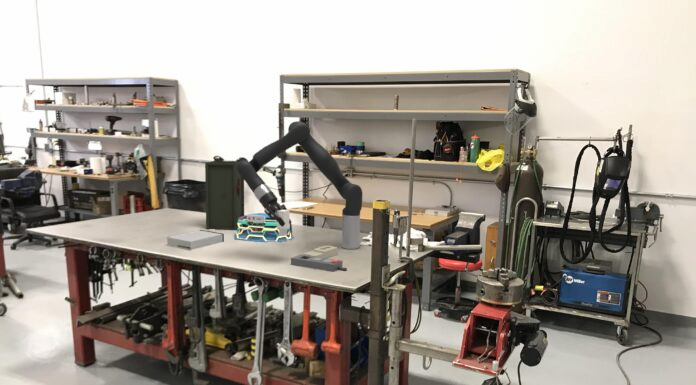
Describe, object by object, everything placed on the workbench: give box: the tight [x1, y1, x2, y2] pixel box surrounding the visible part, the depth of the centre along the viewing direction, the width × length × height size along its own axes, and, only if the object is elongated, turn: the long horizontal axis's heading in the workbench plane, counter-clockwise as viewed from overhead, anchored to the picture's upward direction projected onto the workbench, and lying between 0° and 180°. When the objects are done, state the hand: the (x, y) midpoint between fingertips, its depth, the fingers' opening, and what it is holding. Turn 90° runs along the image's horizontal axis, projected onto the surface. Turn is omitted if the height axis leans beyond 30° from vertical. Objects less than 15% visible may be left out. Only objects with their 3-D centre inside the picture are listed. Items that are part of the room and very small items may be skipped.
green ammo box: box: [204, 160, 245, 231], centre depth 303 cm, size 18×18×40 cm
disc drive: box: [166, 229, 225, 251], centre depth 259 cm, size 18×22×5 cm
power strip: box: [290, 253, 348, 273], centre depth 220 cm, size 8×26×4 cm, turn 63°
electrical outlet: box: [302, 245, 338, 259], centre depth 237 cm, size 7×4×18 cm
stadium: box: [233, 212, 295, 243], centre depth 277 cm, size 35×24×14 cm
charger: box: [277, 209, 291, 236], centre depth 227 cm, size 5×4×12 cm
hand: (286, 224), depth 226 cm, fingers closed on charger, 4 cm apart
